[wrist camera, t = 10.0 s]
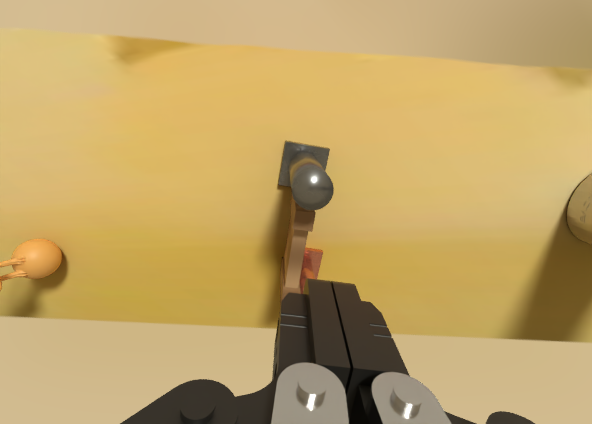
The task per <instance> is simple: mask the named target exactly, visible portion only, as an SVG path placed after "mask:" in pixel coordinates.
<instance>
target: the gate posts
mask: <svg viewBox="0 0 592 424" xmlns="http://www.w3.org/2000/svg"><path fill="white" fill-rule="evenodd" d="M329 150H330V149H329V148H324V147H319V146H313V145H307V144H302V143H296V142H291V141H285V148H284V154H283V160H282V166H281V172H280V178H279V185H283V186H289V187H291V189H292V195H293V198H294V200H295V202H296V203H297V204H298V205H299V206H300V207H302V208H304V209H306V210H318V209H321V208H323V207H324V206H326V205H327V204H328V203H329V201H330V200H331V198H332V196H333V183H332V181H331V179H330V178H329V176H328V175H327V173H326V172H325V169H326V165H327V160H328V155H329ZM322 254H323V251H322V250H317V249H311V248H305V251H304V257H303V263H302V269H301V274H300V280H299V281H300V291H301V294H303V291H304V286H305V281H306V279H307V278H309V279H317V276H318V272H319V267H320V263H321V259H322Z"/></svg>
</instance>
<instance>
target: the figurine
mask: <svg viewBox="0 0 592 424" xmlns="http://www.w3.org/2000/svg"><path fill="white" fill-rule="evenodd" d="M61 261H62V253H61V251H60V249H59V247H58V246H57V245H56V244H55V243H53V242H51V241H49V240H45V239H32V240H28V241H26V242H24V243H22V244H20V245H19V246H18V247H17V248H16V249H15V250H14V252H13V254H12V257H11V260H7V261H3V262H0V267H4V266H8V265H12V267H13V269H14V270H15V272H13V273H10V274H7V275H4V276H1V277H0V291H1V289H2V282H1V281H4V280H7V279H11V278H15V277H26V278H30V279H38V278H43V277H46V276H48V275H50V274H52V273H53V272H55V271H56V270H57V268H58V267H59V266H60V264H61Z"/></svg>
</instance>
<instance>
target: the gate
mask: <svg viewBox="0 0 592 424" xmlns="http://www.w3.org/2000/svg"><path fill="white" fill-rule="evenodd" d="M290 206H291V216H290V223H289V229H288V236H287V242H286V249H285V256H284V257H282V263H281V270H280V307H281V301H282V300H283V299H284V297H285V296H286V295H287V294H288V293H289V292H291V293H299V294H301V291H300V281H299V280H300V274H301V269H302V263H303V257H304V251H305V246H306V240H307V234H308V231H312V230H313V224H314V218H315V210H306V209H304V208H302V207H300V206H299V205H298V204H297V203H296V202H295V200H294V198H293V195H292V197H291V203H290Z"/></svg>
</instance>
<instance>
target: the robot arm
mask: <svg viewBox="0 0 592 424" xmlns="http://www.w3.org/2000/svg"><path fill="white" fill-rule="evenodd" d="M567 223H568V225H569V228H570V230H571V232H572V233H573V234H574V235H575V236H576V237H577V238H579V239H580V240H582V241H585V242H587V243H589V244H591V245H592V174H591V175H589V176H588V177H587V178H586V179H585V180H584V181H583V182H582V183H581V184H580V185H579V186H578V188H577V189H576V190H575V192H574V194H573V195H572V197H571V199H570V202H569V205H568V210H567ZM274 349H275V350H274V365H273V379H272V382H271V383H270V384H269V385H267V386H266V387H265V388H263V389H261V390H259V391H257V392H255V393H252V394H247V395H242V396H237V397H235V396H234V395H233V393H232V392H231V391H230V390H229V389H228V388H227V387H226V386H225V385H223V384H221V383H219V382H216V381H213V380H207V379H205V380H204V379H203V380H202V379H199V380H192V381H189V382H186V383H183V384H181V385H179V386H177V387H175V388H174V389H172V390H171V391H169V392H168V393H166V394H165V395H163V396H161V397H160V398H158V399H157V400H155V401H154V402H152V403H151V404H149V405H148V406H147V407H145V408H143V409H142V410H140V411H139V412H137V413H136V414H134V415H133V416H131V417H130V418H128V419H127V420H125V421H123V422H122V423H120V424H476V423H473V422H470V421H468V420H465V419H462V418H460V417H457V416H454V415H452V414H450V413H447V412H445V411H444V410H443V408H442V407H441V405H440V403H439V402H438V400H437V399H436V397H435V396H434V394H433V393H432V392H431V391H430V390H429V389H428V388H427V387H426V386H424V385H423V384H422V383H421V382H419V381H418V380H416V379H414V378H412V377H410V376H409V374H408V371H407V369H406V367H405V365H404V362H403V360H402V358H401V356H400V353H399V351H398V349H397V347H396V345H395V343H394V340H393V338H391V333H390V331H389V329H388V328H387V325H386V322H385V320H384V318H383V316H382V313H381V312H380V311H379V310H378V309H377V308H376V307H375V306H374V305H373V304H372V303H371V302H365V301H361V299H360V297H359V294H358V291H357V289H356V286H355V284H350V283H342V282H334V281H331V282H330V281H325V280H317V279H309V278H307V279H306V281H305V286H304V291H303V294H299V293H291V292H289V293H288V294H287V295H286V296H285V297H284V299H283V300H282V301H281V307H280V313H279V320H278V326H277V333H276V339H275V348H274ZM486 424H535V423H533V422H532V421H530V420H528V419H526V418H524V417H522V416H519V415H517V414H514V413H510V412H501V411H500V412H495V413H492V414H491V415H490V416H489V417H488V419H487V422H486Z"/></svg>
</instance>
